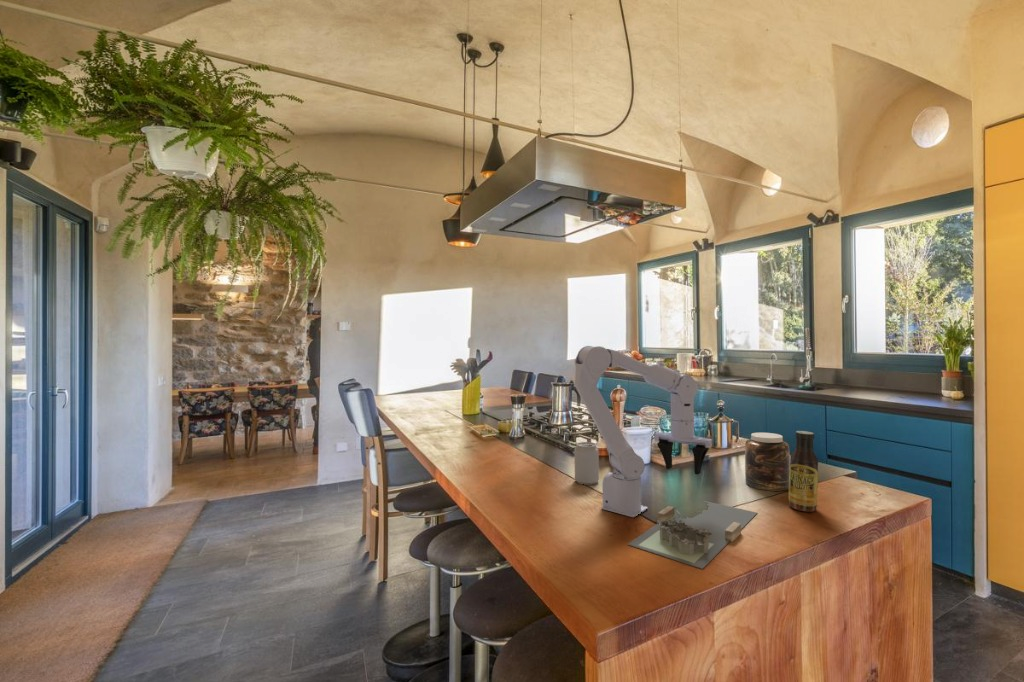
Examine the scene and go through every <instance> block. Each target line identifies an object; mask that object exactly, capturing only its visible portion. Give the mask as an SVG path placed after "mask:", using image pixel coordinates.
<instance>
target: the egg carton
mask: <svg viewBox="0 0 1024 682" xmlns="http://www.w3.org/2000/svg"><path fill="white" fill-rule="evenodd" d="M656 521H657V523H659V525H660V538H661V539H662V540H669V545H670V546H675V547H678V551H679V553H683V554H688V555H694V552H697V551H698V552H702V553H708V546H709V540H708V538H709V537H710V536H712V534H711V533H710V532H709V531H707V530H704V529H703V530H701V529H699V528H698V529H696V528H695V527H694V526H690V525H685V523H684V522H683V521H682V520H680V521H679V522H676V520H673V521H671V520H669V521H666V520H665V521H659V520H658V519H656Z"/></svg>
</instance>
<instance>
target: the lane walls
mask: <svg viewBox="0 0 1024 682" xmlns="http://www.w3.org/2000/svg"><path fill="white" fill-rule="evenodd" d="M675 511H676V509H675V506H671V505H668V506H667V507H665V508H663V509H661V510H660V511H659V512H657V520H659V521H665V520H666V521H667V520H668V519H670V518H671V517H673V516H674V515H675ZM741 534H742V530H741V523H736V522H733V523H732V524H731V525H730V526H729V527H728V528H727V529H726V530H725V539H726V540H730V542H729V543H733V542H734V541H735V540H737V538H738V537H739V536H740V535H741Z"/></svg>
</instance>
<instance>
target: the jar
mask: <svg viewBox="0 0 1024 682" xmlns="http://www.w3.org/2000/svg"><path fill="white" fill-rule="evenodd" d="M783 439H784V438H783V435H781V434H779V433H772V432H752V433H751V434H750V439H747V440H746V441H745V443H744V444H745V446H744V467H745V468H744V471H745V472H744V474H745V479H744V480H745V485H747V486H748V487H751V488H753V489H757V490H761V489H762V491H770V492H784V491H789V473H790V460H791V454H790V453H791V452H790V444H789V443H788V442H786V441H784V440H783Z"/></svg>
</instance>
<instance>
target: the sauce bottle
mask: <svg viewBox="0 0 1024 682" xmlns="http://www.w3.org/2000/svg"><path fill="white" fill-rule="evenodd" d="M794 436H795V438H796V439H795V441H796V442H795V448H794V450H793V452H792V453H791V454H790V473H789V489H788V505H789V507H790V508H791V509H794V510H796V511H800V512H804V513H805V512H806V513H813V512H815V511H816V510H817V507H818V506H817V505H818V488H819V485H818V483H819V481H818V479H819V459H818V457H817V455H816V453H815V452H814V440H815V433H814V432H811V431H806V430H796V431H795V435H794Z"/></svg>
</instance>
